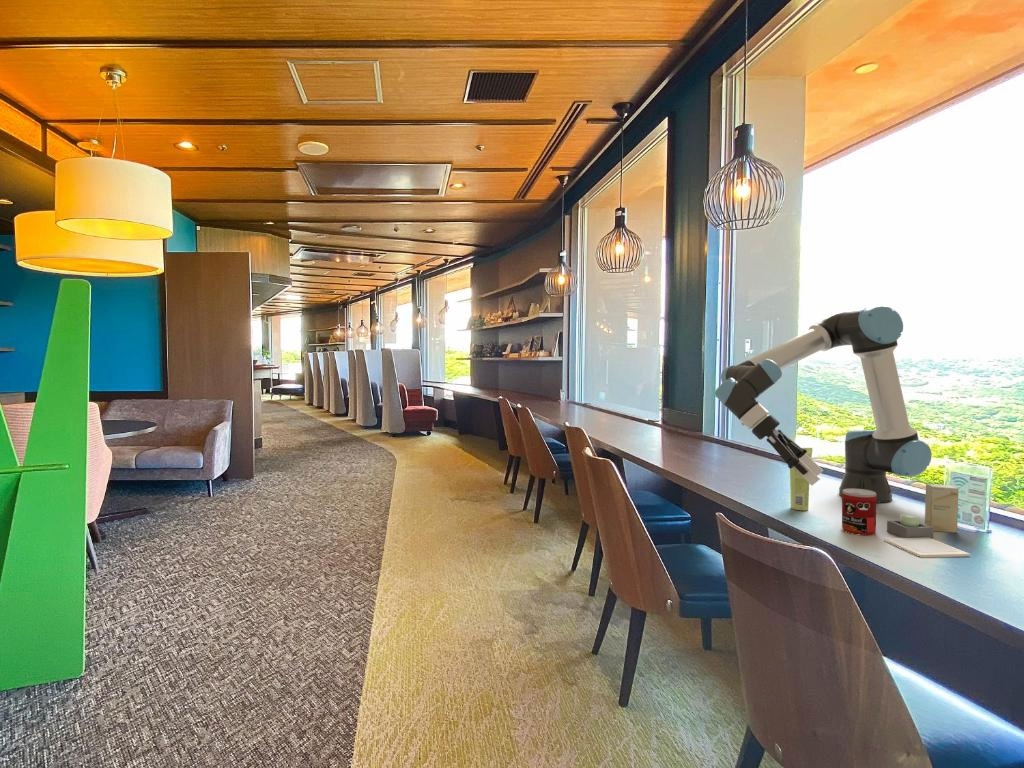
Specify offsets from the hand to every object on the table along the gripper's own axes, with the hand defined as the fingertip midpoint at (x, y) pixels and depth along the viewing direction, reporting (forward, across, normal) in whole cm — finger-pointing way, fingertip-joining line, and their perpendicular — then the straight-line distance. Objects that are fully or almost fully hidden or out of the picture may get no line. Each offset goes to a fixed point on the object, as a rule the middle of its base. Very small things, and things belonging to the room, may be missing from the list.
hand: (817, 478), depth 150 cm
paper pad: (+26, +7, +7) cm, 28 cm away
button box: (+24, -3, +5) cm, 25 cm away
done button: (+23, -3, +7) cm, 24 cm away
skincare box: (+30, -14, +10) cm, 35 cm away
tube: (+6, -17, -14) cm, 23 cm away
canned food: (+17, 0, -3) cm, 17 cm away
